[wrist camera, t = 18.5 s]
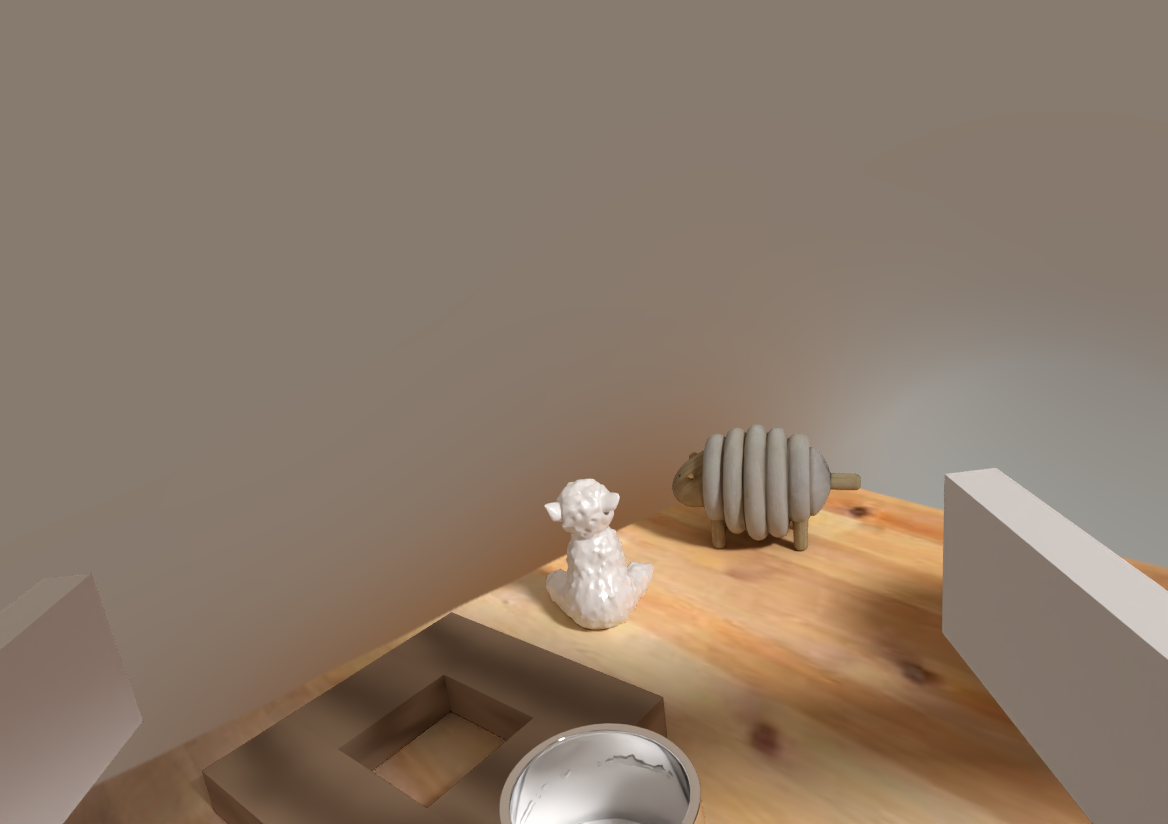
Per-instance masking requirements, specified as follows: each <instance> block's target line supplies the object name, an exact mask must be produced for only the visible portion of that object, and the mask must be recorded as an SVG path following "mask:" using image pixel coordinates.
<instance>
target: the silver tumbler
mask: <svg viewBox="0 0 1168 824" xmlns="http://www.w3.org/2000/svg"><path fill="white" fill-rule="evenodd" d="M499 817H500V823H501V824H706V821H705V816H704V811H703V806H702V800H701V786H700V781H699V778H698V775H697V772H696V770H695V768H694V766H693V764H692V762H691V761H690V759H689V758H688V757H687V755H686V754H685V753H684V752H683V751H682V750H681V749H680V748H679V747H678V746H677V745H675V744H674V743H673V742H671V741H670V740H668V739H667V738H665V737H663V736H661V735H659V734H657V733H655V732H653V731H650V730H647V729H644V728H641V727H637V726H632V725H625V724H594V725H587V726H582V727H578V728H574V729H571V730H568V731H565V732H562V733H560V734H557V735H555V736H553V737H551V738H549V739H547V740H545V741H544V742H542V743H540V744H539V745H537V746H536V747H535V748H533V749H532V750H531V751H529V752H528V753H527V754H526V755H525V756H524V757H523V758H522V759H521V760H520V761H519V762H518V763H517V765H516V766H515V767H514V768H513V770H512V771H511V773H510V775H509V776H508V778H507V780H506V782H505V784H504V787H503V790H502V793H501V797H500V804H499Z"/></svg>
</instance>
